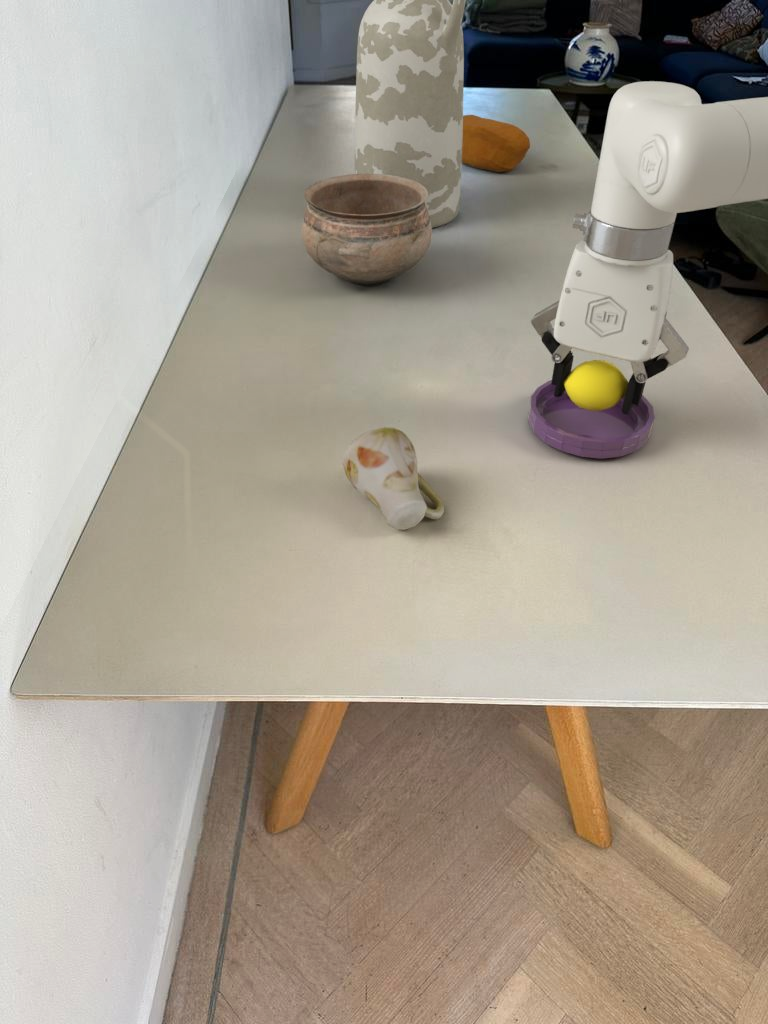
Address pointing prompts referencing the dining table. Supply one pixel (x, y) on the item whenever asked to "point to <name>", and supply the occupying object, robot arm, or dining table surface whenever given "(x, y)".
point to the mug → (390, 477)
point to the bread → (492, 144)
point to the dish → (588, 425)
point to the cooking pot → (366, 226)
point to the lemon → (596, 385)
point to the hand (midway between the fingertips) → (594, 398)
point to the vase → (412, 97)
